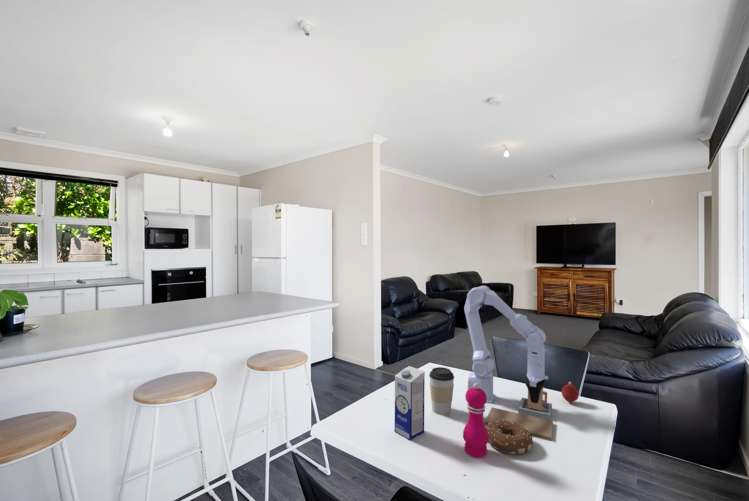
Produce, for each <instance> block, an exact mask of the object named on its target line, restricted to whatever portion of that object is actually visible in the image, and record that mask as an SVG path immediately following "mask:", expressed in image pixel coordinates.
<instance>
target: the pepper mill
mask: <svg viewBox="0 0 749 501" xmlns="http://www.w3.org/2000/svg"><path fill="white" fill-rule="evenodd" d="M464 396H465V400H466V402H467V405H466V406H467V407H466V409H467V411H468V419H467V422H466V423H465V426H464V428H463V432H462V438H463V440H464V442H465V443H464V452H465V453H466V454H467V455H469V456H470V457H474V458H477V459H478V458H479V459H480V458H484V457H486V456H487V453H488V446H487V444H489V443H488V441H489V436H488V432H487V429H486V427H487V425H486V424H485V419H484V413H485V412H486V406H485V405H486V403H488V402H487V396H486V393H485V392H484V391H483V390H482V389H480V388H479V384H478V383H474V384H473V388H470V389H468V388H467V391H466V393H465V395H464Z"/></svg>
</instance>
